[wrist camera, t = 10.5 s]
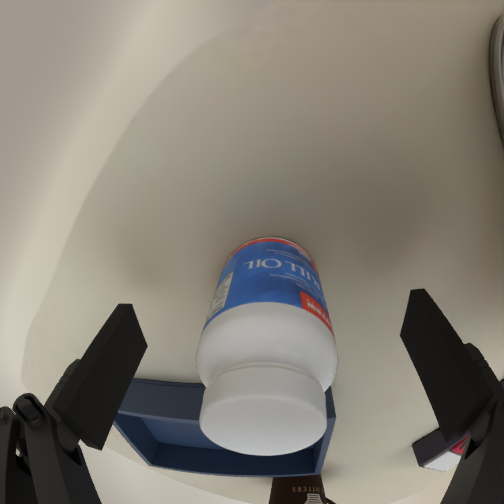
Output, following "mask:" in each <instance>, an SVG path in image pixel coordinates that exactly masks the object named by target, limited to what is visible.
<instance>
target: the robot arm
mask: <svg viewBox="0 0 504 504" xmlns="http://www.w3.org/2000/svg"><path fill="white" fill-rule="evenodd" d="M490 72H491V83H492V91H493V98H494V104H495V109H496V114H497V119H498V123H499V128H500V131H501V135H502V139H503V142H504V15H502V16H501V17H500V18H499V20H498V21H497V23H496V25H495V27H494V30H493V33H492V38H491V46H490ZM400 337H401V339H402V341H403V343H404V345H405V347H406V349H407V351H408V353H409V355H410V358H411V360H412V362H413V364H414V366H415V368H416V371H417V373H418V375H419V377H420V380H421V382H422V384H423V387H424V389H425V391H426V394H427V396H428V398H429V401H430V403H431V406H432V408H433V411H434V413H435V416H436V418H437V421H438V424H439V426H440V429H441V432H442V434H443V437H444V440H445V443H448V442H450V441H453V440H456V439H458V438H461V437H462V436H463V435H464V433H465V432H466V431H467V430H468V431H469V433H470V436H469V437H468V438H467V439H466V440H465V441H464V442H463V444H462V445H461V446H460V448H459V450H461V449H462V448H463V447H464V446H465V447H464V450H463V453H462V456H461V458H460V461H459V463H458V466H457V468H456V471H455V473H454V476H453V478H452V480H451V483H450V485H449V487H448V489H447V491H446V493H445V495H444V497H443V499H442V501H441V503H440V504H504V389H503V388H502V386H501V384H500V382H499V381H498V379H497V377H496V376H495V374H494V372H493V371H492V369H491V368H490V367H489V364H488V363H487V361H486V360H484V357H483V355H482V354H481V352H480V351H479V349H478V348H476V347H475V346H474V345H473V344H471V343H467V344H463V342H462V340H461V339H460V337H459V336H458V334H457V333H456V331H455V330H454V329H453V327H452V326H451V324H450V323H449V321H448V320H447V318H446V317H445V316H444V314H443V313H442V311H441V310H440V309H439V307H438V306H437V305H436V303H435V302H434V300H433V299H432V298H431V296H430V295H429V294H428V293H427V291H426V290H425V289H424V288H423V289H415V290H411V291H410V296H409V301H408V305H407V309H406V313H405V318H404V322H403V325H402V329H401V333H400ZM147 347H148V346H147V343H146V341H145V338H144V336H143V333H142V330H141V328H140V325H139V322H138V320H137V317H136V314H135V311H134V309H133V306H132V304H118V305H117V307H116V308H115V310H114V311H113V312H112V314H111V315H110V317H109V318H108V320H107V321H106V322H105V324H104V325H103V327H102V328H101V330H100V331H99V333H98V334H97V335H96V337H95V338H94V340H93V341H92V343H91V344H90V346H89V347H88V349H87V350H86V352H85V354H84V355H83V357H82V358H81V360H80V359H76V360H75V361H74V362H73V363H71V364H70V365H69V366H68V368H67V369H66V371H65V372H64V374H63V376H62V377H61V378H60V380H59V383H57V385H56V386H55V388H54V390H53V391H52V393H51V395H50V396H49V398H48V399H47V401H46V403H45V405H44V406H43V405H42V404H41V402H40V401H39V400H38V399H37V397H36V396H35V395H34V394H31V393H26V394H23V395H21V396H19V397H18V398H17V399H16V401H15V402H14V404H13V409H12V410H13V411H14V412H15V413H16V414H15V413H14V412H13V411H12V410H11V409H10V408H9V407H5V406H4V407H1V408H0V504H102V503H101V501H100V499H99V497H98V494H97V491H96V489H95V486H94V484H93V482H92V479H91V476H90V473H89V471H88V468H87V465H86V462H85V459H84V456H83V453H82V450H81V448H80V446H79V445H78V442H79V440H80V439H81V440H82V441H83V442H84V443H85V444H86V445H87V446H88V447H92V448H95V449H98V450H102V448H103V446H104V444H105V441H106V439H107V436H108V434H109V432H110V429H111V427H112V424H113V422H114V420H115V417H116V415H117V413H118V410H119V408H120V406H121V403H122V401H123V399H124V397H125V394H126V392H127V390H128V388H129V385H130V383H131V381H132V379H133V377H134V374H135V372H136V370H137V368H138V366H139V364H140V361H141V359H142V357H143V355H144V353H145V351H146V349H147ZM16 449H17V450H19V451H20V454H19V456H17V455H16Z"/></svg>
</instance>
